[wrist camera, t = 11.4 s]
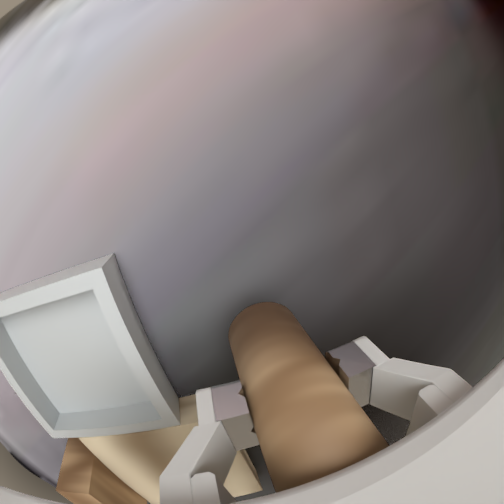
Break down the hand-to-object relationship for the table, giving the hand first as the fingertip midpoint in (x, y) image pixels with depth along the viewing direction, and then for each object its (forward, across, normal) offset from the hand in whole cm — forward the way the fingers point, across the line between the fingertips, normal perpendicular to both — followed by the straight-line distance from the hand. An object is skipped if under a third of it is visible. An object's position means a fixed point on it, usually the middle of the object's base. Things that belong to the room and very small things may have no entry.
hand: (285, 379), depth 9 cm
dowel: (+3, 0, 0) cm, 3 cm away
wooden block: (+6, +15, +12) cm, 20 cm away
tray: (+6, +11, +1) cm, 13 cm away
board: (+7, +8, +12) cm, 16 cm away
